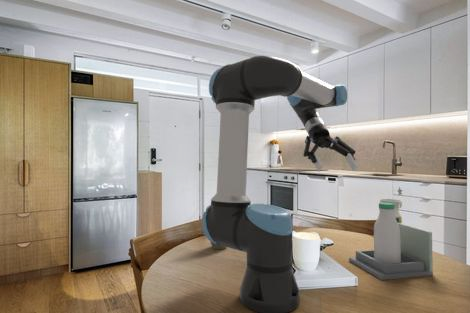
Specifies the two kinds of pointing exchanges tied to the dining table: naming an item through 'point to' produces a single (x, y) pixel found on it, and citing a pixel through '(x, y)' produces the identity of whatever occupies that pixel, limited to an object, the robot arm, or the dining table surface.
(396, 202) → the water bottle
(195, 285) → the dining table surface
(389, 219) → the milk bottle
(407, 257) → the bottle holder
